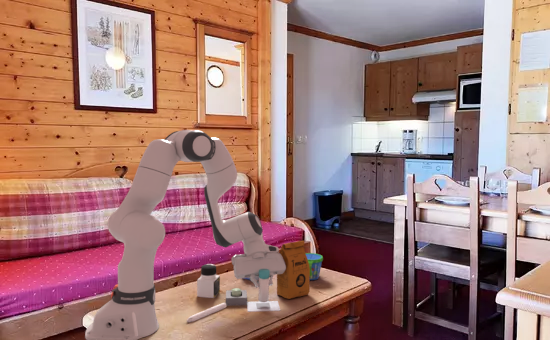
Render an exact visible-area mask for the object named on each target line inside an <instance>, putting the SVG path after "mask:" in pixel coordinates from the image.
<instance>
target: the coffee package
mask: <svg viewBox="0 0 550 340" xmlns="http://www.w3.org/2000/svg"><path fill="white" fill-rule="evenodd" d="M305 244H306V243H305V240H299V241H293V242H287V243H283V244H282V245H281V247H280V250H279V253H280V254H281V255H282V257H283V259H284V262H285V265H286V270H285V272H284V273H283V274H276V295H277V296H280V297H283V298H284V299H288V300H290V299H294V298H299V297H300V298H301V297H303V296H307V295H309V293H310V291H311V290H310V287H311V284H310V280H309V276H310V268H309V263H308V259H307V256H306V254H305V253H306V251H305V247H304V246H305Z"/></svg>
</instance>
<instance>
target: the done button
mask: <svg viewBox="0 0 550 340" xmlns="http://www.w3.org/2000/svg"><path fill="white" fill-rule="evenodd" d="M231 290H232V296H241V290H242V289H241V288H239V287H237V288H236V287H235V288H232V289H231Z"/></svg>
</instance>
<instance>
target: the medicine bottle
mask: <svg viewBox="0 0 550 340" xmlns="http://www.w3.org/2000/svg"><path fill="white" fill-rule="evenodd" d="M220 276H221V275H220V274H219V275H218V274H217V265H215V264H212V263H207V264H204V265H203V264H202V265H201V268H200V277H199V278H197V281H196V287H197V288H196V290H197V292H196V296H197V297H199V298H206V299H215V298H216V297H217V295H218V294H219V293H220V292H221V291H220V290H221V289H220V288H221V277H220Z"/></svg>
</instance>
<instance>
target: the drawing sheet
mask: <svg viewBox="0 0 550 340" xmlns="http://www.w3.org/2000/svg"><path fill="white" fill-rule="evenodd" d="M246 308H247V312H249V313H251V312H252V313H253V312H280V311H281V307H280V305H279V301H278V300H268V301H267V302H260V301H259V300H258V301H247V305H246Z"/></svg>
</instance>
